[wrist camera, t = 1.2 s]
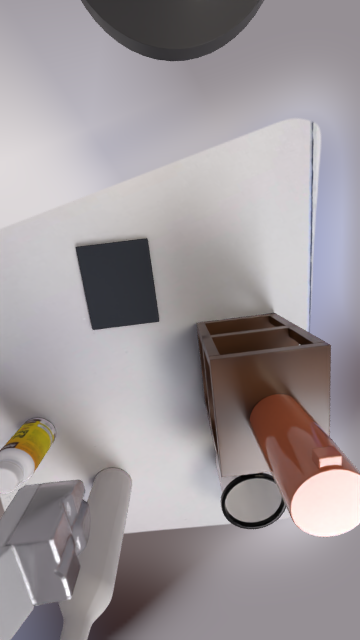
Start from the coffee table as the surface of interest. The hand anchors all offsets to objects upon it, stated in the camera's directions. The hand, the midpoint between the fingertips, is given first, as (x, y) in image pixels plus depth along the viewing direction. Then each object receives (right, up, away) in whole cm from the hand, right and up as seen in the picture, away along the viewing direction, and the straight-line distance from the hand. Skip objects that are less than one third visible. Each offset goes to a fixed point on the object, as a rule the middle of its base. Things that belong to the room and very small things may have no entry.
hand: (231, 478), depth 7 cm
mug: (+9, -21, +40) cm, 46 cm away
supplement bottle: (-24, -14, +37) cm, 47 cm away
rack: (+8, -2, +35) cm, 36 cm away
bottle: (-13, -24, +40) cm, 49 cm away
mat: (-10, +9, +32) cm, 35 cm away
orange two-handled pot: (+9, -6, +21) cm, 23 cm away
